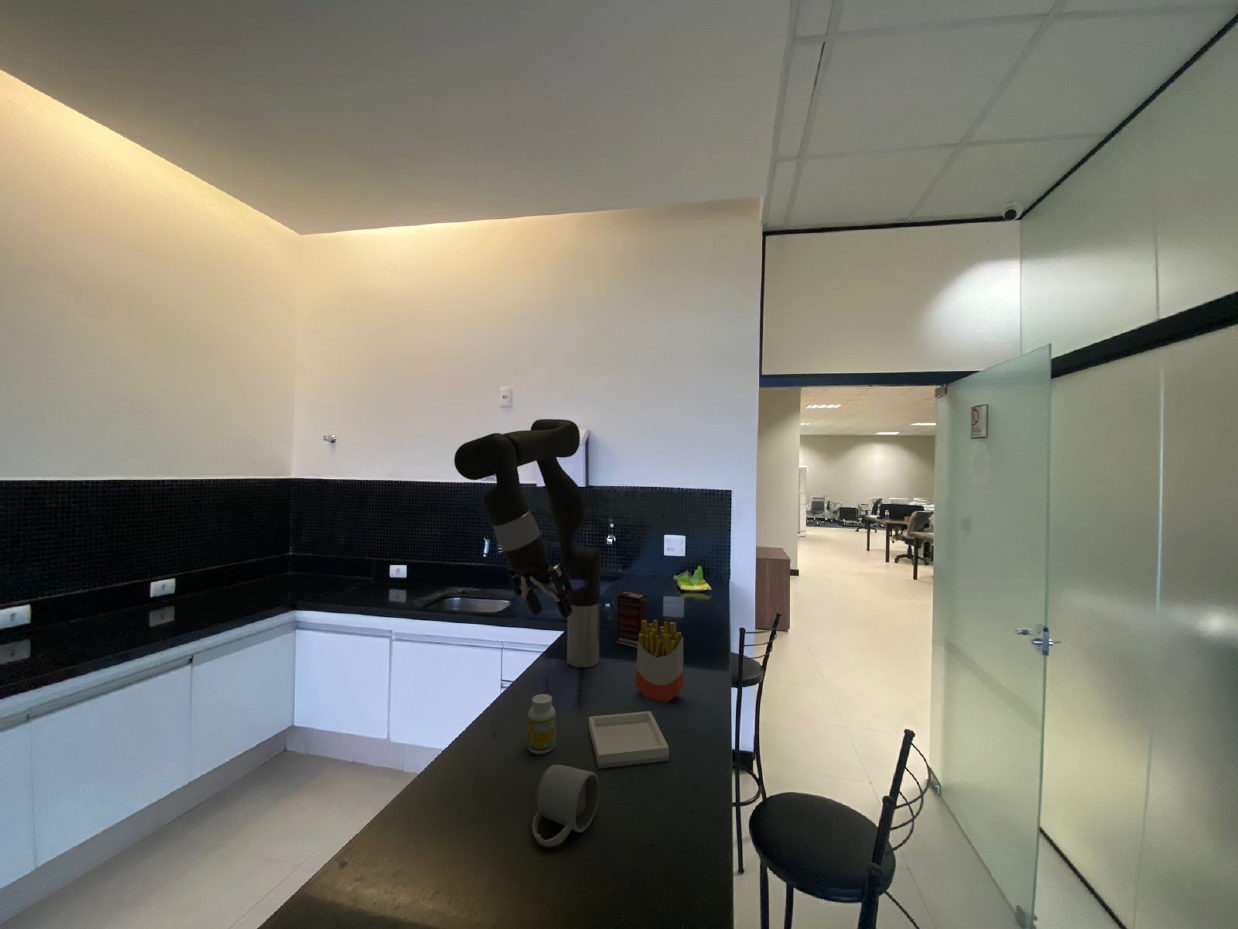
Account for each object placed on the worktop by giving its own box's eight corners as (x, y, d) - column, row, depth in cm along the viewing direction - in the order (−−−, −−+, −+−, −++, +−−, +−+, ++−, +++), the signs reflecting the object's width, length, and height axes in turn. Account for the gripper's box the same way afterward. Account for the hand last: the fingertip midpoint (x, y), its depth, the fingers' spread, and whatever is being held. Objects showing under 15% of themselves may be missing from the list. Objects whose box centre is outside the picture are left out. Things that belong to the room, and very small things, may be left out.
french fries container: (677, 705, 109) (677, 629, 110) (635, 696, 114) (635, 622, 114) (683, 697, 114) (683, 623, 114) (641, 688, 118) (642, 617, 118)
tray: (589, 728, 99) (589, 717, 99) (650, 722, 102) (650, 711, 102) (598, 768, 86) (598, 755, 86) (668, 760, 88) (668, 747, 89)
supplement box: (647, 644, 148) (647, 594, 148) (639, 649, 144) (640, 598, 144) (624, 639, 153) (624, 590, 153) (616, 643, 149) (616, 594, 149)
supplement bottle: (552, 755, 90) (553, 705, 90) (525, 755, 90) (525, 705, 90) (556, 739, 95) (557, 692, 95) (530, 738, 95) (531, 692, 95)
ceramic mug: (557, 795, 79) (557, 750, 79) (600, 811, 75) (600, 763, 75) (518, 841, 69) (518, 789, 69) (565, 861, 66) (565, 807, 66)
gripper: (559, 527, 84) (590, 604, 87) (511, 531, 93) (541, 601, 96) (530, 548, 78) (565, 630, 81) (482, 550, 87) (515, 623, 90)
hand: (552, 614), depth 89 cm, fingers open, 8 cm apart
